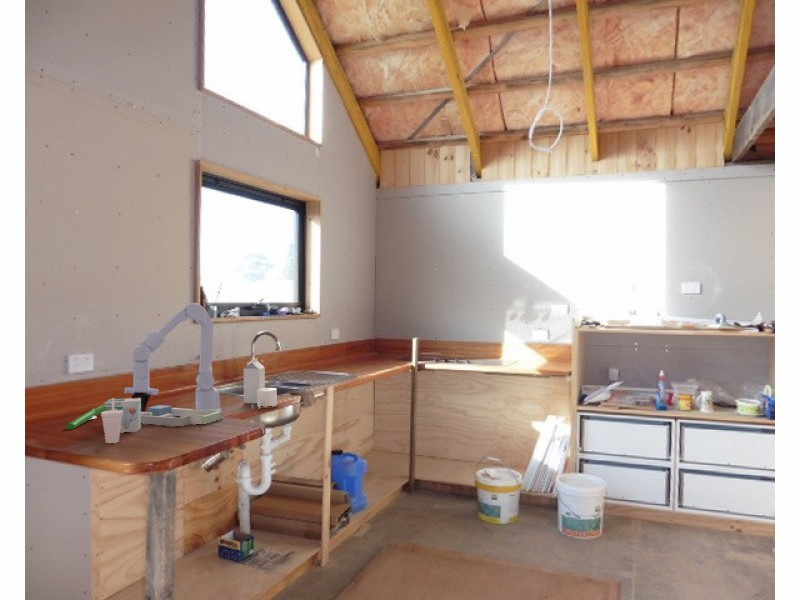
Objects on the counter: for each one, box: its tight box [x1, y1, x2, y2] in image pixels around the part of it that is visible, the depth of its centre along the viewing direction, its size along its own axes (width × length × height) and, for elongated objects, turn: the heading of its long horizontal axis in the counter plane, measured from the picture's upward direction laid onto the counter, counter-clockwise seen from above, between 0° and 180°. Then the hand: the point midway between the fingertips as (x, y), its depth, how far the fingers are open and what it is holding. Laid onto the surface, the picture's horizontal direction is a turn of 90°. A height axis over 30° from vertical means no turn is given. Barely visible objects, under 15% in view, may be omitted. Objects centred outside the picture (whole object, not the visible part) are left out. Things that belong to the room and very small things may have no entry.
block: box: [147, 404, 173, 416], centre depth 221 cm, size 6×6×4 cm
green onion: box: [65, 404, 105, 430], centre depth 218 cm, size 5×3×30 cm
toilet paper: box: [256, 387, 278, 410], centre depth 246 cm, size 8×11×7 cm
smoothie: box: [100, 397, 123, 445], centre depth 184 cm, size 6×6×14 cm
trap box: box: [141, 407, 223, 427], centre depth 216 cm, size 16×29×3 cm, turn 72°
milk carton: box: [243, 357, 266, 404], centre depth 255 cm, size 7×7×19 cm
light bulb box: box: [104, 397, 142, 434], centre depth 200 cm, size 11×7×11 cm, turn 105°
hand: (141, 412), depth 224 cm, fingers closed
